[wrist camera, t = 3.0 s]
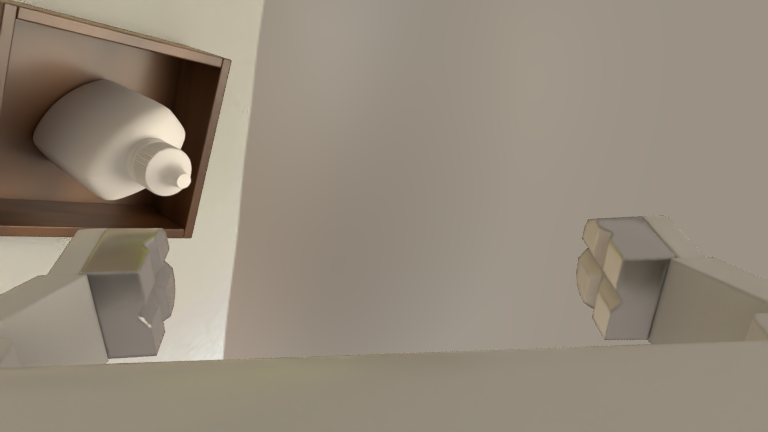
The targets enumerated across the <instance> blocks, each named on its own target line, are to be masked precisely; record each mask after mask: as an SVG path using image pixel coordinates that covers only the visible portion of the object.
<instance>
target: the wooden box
mask: <svg viewBox="0 0 768 432" xmlns="http://www.w3.org/2000/svg"><path fill="white" fill-rule="evenodd" d="M230 65H231V60H229V59H226V58H223V57H220V56H217V55H214V54H211V53H208V52H205V51H202V50H199V49H195V48H192V47H189V46H185V45H182V44H178V43H174V42H170V41H166V40H162V39H158V38H155V37H151V36H147V35H143V34H139V33H135V32H131V31H128V30H124V29H120V28H116V27H112V26H108V25H104V24H101V23H97V22H93V21H89V20H85V19H81V18H77V17H74V16H70V15H66V14H62V13H58V12H54V11H51V10H47V9H43V8H39V7H35V6H31V5H27V4H24V3H20V2H16V1H12V0H0V236H30V237H73V236H74V235H75V233H76V232H77V231H78V230H81V229H97V228H107V229H114V228H163V230H164V231H165V233H166V235H167V238H192V233H193V229H194V225H195V220H196V216H197V211H198V207H199V202H200V198H201V194H202V189H203V185H204V180H205V176H206V171H207V167H208V163H209V158H210V154H211V149H212V145H213V140H214V136H215V132H216V127H217V123H218V118H219V114H220V109H221V105H222V101H223V96H224V92H225V87H226V83H227V79H228V74H229V70H230ZM98 80H111V81H113V82H115V83H118V84H120V85H122V86H124V87H126V88H128V89H131V90H133V91H135V92H137V93H139V94H141V95H143V96H146V97H148V98H150V99H152V100H154V101H156V102H158V103H160V104H162V105H164V106H165V107H167V108H168V109H169V110H171V112H172V113H173V114H174V115H175V117H176V118H177V119H178V121H179V122H180V123H181V125H182V127H183V128H184V131H185V139H184V142H183V145H182V147H181V150H182V151H183V152H184V153H186V155H187V156H188V157H189V159H190V163H191V168H192V169H191V170H192V171H191V176H190V178H191V182H190V185H189V186H188V187H186V188H183V189H182V190H181V191H179V192H177V193H175V194H173V195H170V196H159V195H157V194H154V193H153V192H151V191H150V190H148V189H146V188H145V189H143V190H141V191H139V192H137V193H134V194H132V195H129V196H127V197H124V198H120V199H116V200H105V199H103V198H101V197H99V196H97V195H96V194H94V193H93V192H92V191H90V190H89V189H87V188H86V187H85V186H83V185H82V184H80V183H79V182H78V181H76V180H75V179H74V178H72V177H71V176H70V175H68V174H67V173H65V172H64V171H63V170H61V169H60V168H59V167H57V166H56V165H55V164H53V163H52V162H51V161H50V160H49V159H48V158H47V157H46V156H45V155H44V154H43V153H42V152H41V151H40V150H39V149H38V148H37V147H36V145H35V143H34V141H33V134H34V131H35V129H36V127H37V125H38V124H39V122H40V120H41V119H42V117H43V116H44V115H45V113H46V112H47V111H48V110H49V109H50V108H51V107H52V106H53V105H54V104H55V103H56V102H57V101H58V100H59V99H61V98H62V97H63V96H65V95H66V94H68V93H69V92H71V91H72V90H74V89H76V88H78V87H80V86H83V85H85V84H88V83H91V82H94V81H98Z"/></svg>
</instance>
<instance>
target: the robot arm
mask: <svg viewBox="0 0 768 432" xmlns="http://www.w3.org/2000/svg"><path fill="white" fill-rule="evenodd" d="M582 239H583V240H584V242H585V244H586V245H587V247H588V248H587V250H585V251H584V252H583V254H582V255H581V256H580V257H579V258H578V264H577V271H576V275H577V287H578V290H579V294H580V296H581V298H582V300H583V302H584V303H585V304H586V305H588V306H590V307H591V308H593V309H594V310H593V315H592V318H593V320H594V322H595V324H596V325H597V327H598V329H599V331H600V333H601V335H602V336H603V338H604V340H648V341H649V342H650V343H651V344H647V345H646V344H645V345H618V346H590V347H562V348H536V349H509V350H508V349H507V350H480V351H454V352H453V351H452V352H424V353H398V354H370V355H369V354H368V355H340V356H313V357H285V358H257V359H229V360H201V361H173V362H145V363H118V364H106V363H107V362H108V359H111V358H128V357H144V356H157V353H158V350H159V347H160V345H161V342H162V339H163V336H164V333H165V329H164V323H163V321H165V320H166V319H167V318H169V317H170V316H171V313H172V310H173V307H174V299H175V279H174V273H173V268H172V267H171V266H170V265H169V264H168V263H167V262H166V261H165V258H166V256H167V253H168V251H169V245H168V240H167V235H166V233H165V231H164V230H163V228H114V229H107V228H97V229H81V230H78V231H77V232H76V233H75V235H74V236H73V238H72V239H71V241H70V242H69V244H68V245H67V247H66V248H65V249H64V251H63V252H62V254H61V255H60V257H59V258H58V260H57V261H56V263H55V264H54V266H53V267H52V268H51V270H50V271H49V273H48V274H47V275H40V276H37V277H35V278H33V279H31V280H29V281H27V282H25V283H23V284H21V285H19V286H17V287H15V288H13V289H11V290H9V291H7V292H5V293H3V294H1V295H0V432H768V280H766V279H764V278H762V277H759V276H756V275H754V274H752V273H750V272H747V271H745V270H742V269H740V268H738V267H735V266H733V265H731V264H728V263H726V262H724V261H721V260H719V259H716V258H714V257H705V256H704V255H703V254H702V253H701V252H700V251H699V250H698V249H697V248H696V246H695V245H694V244H693V243H692V242H691V241H690V240H689V239H688V238H687V237H686V236H685V235H684V233H683V232H682V231H680V229H679V228H678V227H677V226H676V225H675V224H674V223H673V221H672V220H671V219H670V218H669V217H666V216H664V215H659V216H643V217H642V216H639V217H620V218H597V219H589V220H588V221H587V223H586V225H585V228H584V232H583V237H582Z"/></svg>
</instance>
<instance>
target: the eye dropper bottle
mask: <svg viewBox="0 0 768 432" xmlns="http://www.w3.org/2000/svg"><path fill="white" fill-rule="evenodd" d="M184 139H185V131H184V128H183V127H182V125H181V123H180V122H179V121H178V119H177V118H176V117H175V115H174V114H173V113H172V112H171V110H169V109H168V108H167V107H165V106H164V105H162V104H160V103H158V102H156V101H154V100H152V99H150V98H148V97H146V96H143V95H141V94H139V93H137V92H135V91H133V90H131V89H128V88H126V87H124V86H122V85H120V84H118V83H115V82H113V81H111V80H98V81H94V82H91V83H88V84H85V85H83V86H80V87H78V88H76V89H74V90H72V91H71V92H69V93H68V94H66V95H65V96H63V97H62V98H61V99H59V100H58V101H57V102H56V103H55V104H54V105H53V106H52V107H51V108H50V109H49V110H48V111H47V112H46V113H45V115H44V116H43V117H42V119H41V120H40V122H39V124H38V125H37V127H36V129H35V131H34V134H33V141H34V143H35V145H36V147H37V148H38V149H39V150H40V151H41V152H42V153H43V154H44V155H45V156H46V157H47V158H48V159H49V160H50V161H51V162H52V163H53V164H55V165H56V166H57V167H59V168H60V169H61V170H63V171H64V172H65V173H67V174H68V175H70V176H71V177H72V178H74V179H75V180H76V181H78V182H79V183H80V184H82V185H83V186H85V187H86V188H87V189H89V190H90V191H92V192H93V193H94V194H96V195H97V196H99V197H101V198H103V199H105V200H116V199H120V198H124V197H127V196H129V195H132V194H134V193H137V192H139V191H141V190H143V189H145V188H146V189H148V190H150V191H151V192H153V193H154V194H157V195H159V196H170V195H173V194H175V193H177V192H179V191H181V190H182V189H183V188H186V187H188V186H189V185H190V182H191V178H190V176H191V171H192V170H191V169H192V168H191V163H190V159H189V157H188V156H187V155H186V153H184V152H183V151H182V150H181V147H182V145H183V142H184Z"/></svg>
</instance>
